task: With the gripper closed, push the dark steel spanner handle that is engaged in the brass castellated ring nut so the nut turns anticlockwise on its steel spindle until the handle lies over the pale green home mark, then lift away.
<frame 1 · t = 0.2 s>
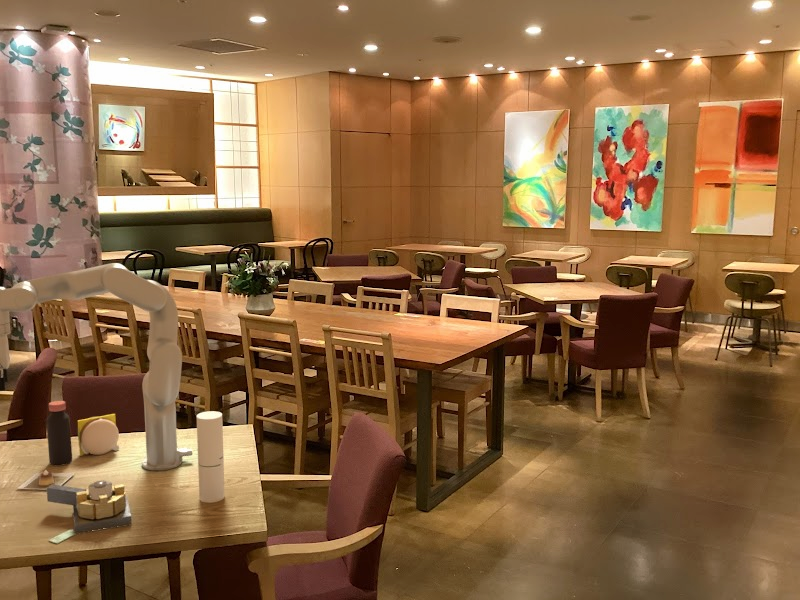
hand: (0, 386, 219), 31 cm above the table, tool pointing down, fingers open, 9 cm apart
cylindrical container: (212, 498, 218), on the table
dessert: (46, 484, 227), on the table
ring nut: (84, 496, 205), point 6 cm above the table, hinge at -40.0°
hamburger: (100, 453, 252), on the table
bottle: (61, 462, 243), on the table
housing: (102, 518, 204), on the table
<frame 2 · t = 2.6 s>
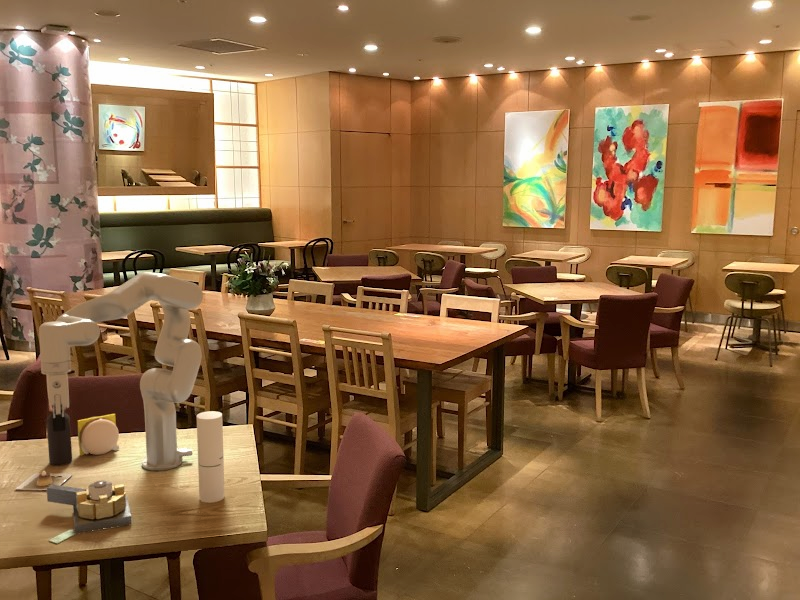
hand: (59, 430, 210), 22 cm above the table, tool pointing down, fingers closed
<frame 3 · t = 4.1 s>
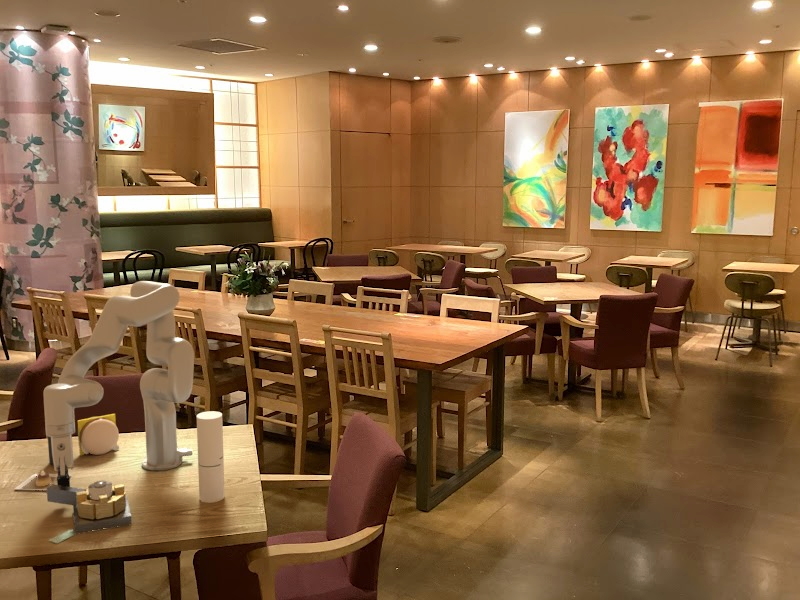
hand: (63, 489, 213), 4 cm above the table, tool pointing down, fingers closed
nothing on the table moved.
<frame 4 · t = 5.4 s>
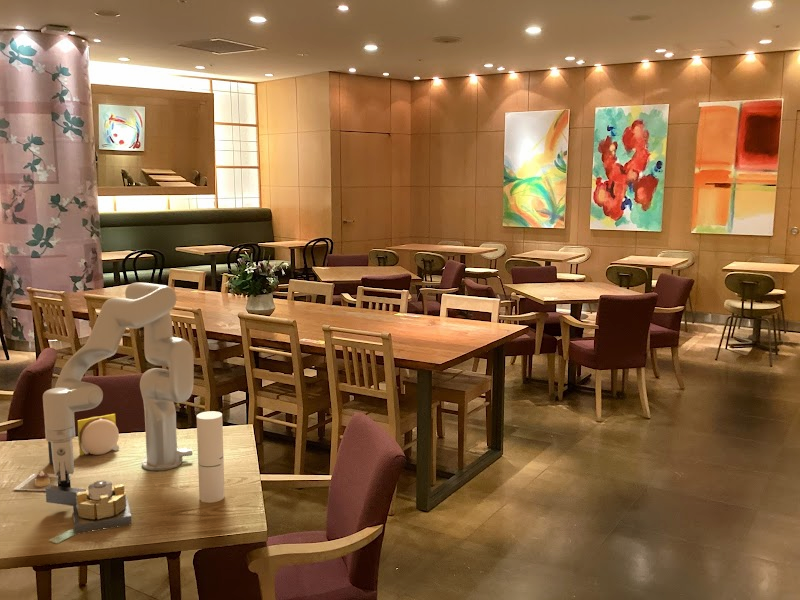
hand: (64, 494, 211), 4 cm above the table, tool pointing down, fingers closed
ring nut: (84, 496, 205), point 6 cm above the table, hinge at -38.2°, touching gripper
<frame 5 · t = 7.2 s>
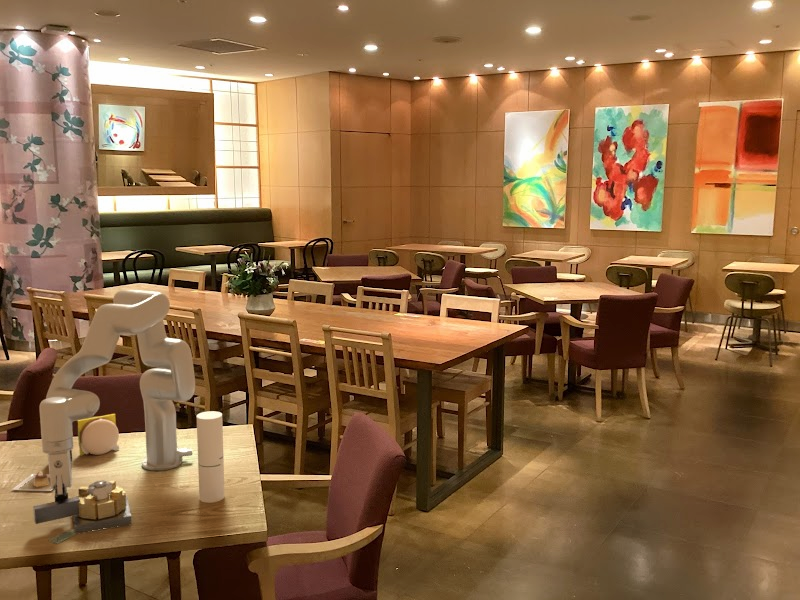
hand: (62, 508, 202), 4 cm above the table, tool pointing down, fingers closed
ring nut: (80, 503, 201), point 6 cm above the table, hinge at 9.6°, touching gripper
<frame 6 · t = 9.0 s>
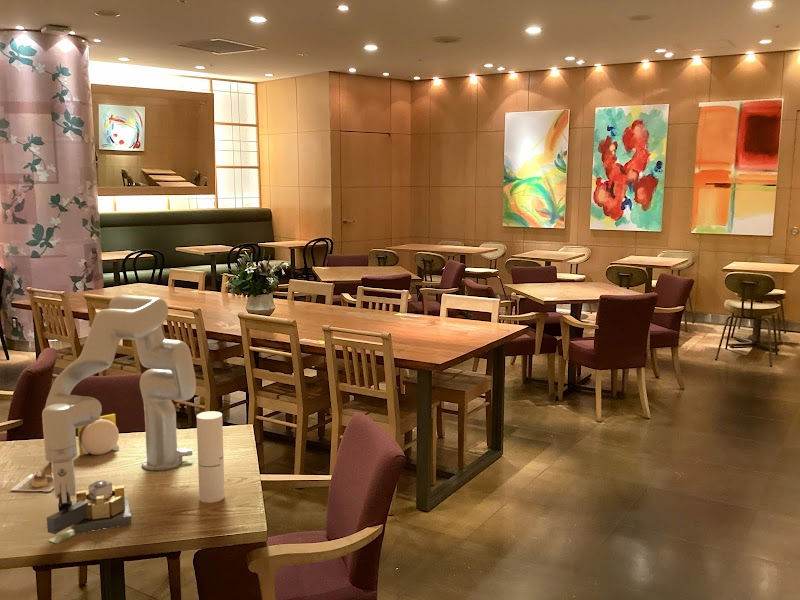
hand: (66, 517, 198), 3 cm above the table, tool pointing down, fingers closed
ring nut: (85, 506, 199), point 6 cm above the table, hinge at 41.4°, touching gripper
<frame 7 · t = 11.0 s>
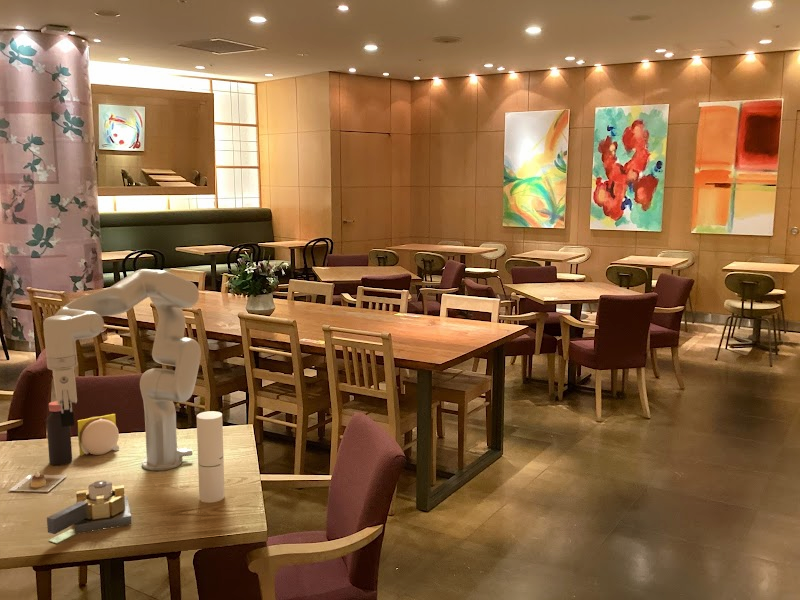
hand: (68, 425, 206), 24 cm above the table, tool pointing down, fingers closed
ring nut: (85, 506, 199), point 6 cm above the table, hinge at 41.4°
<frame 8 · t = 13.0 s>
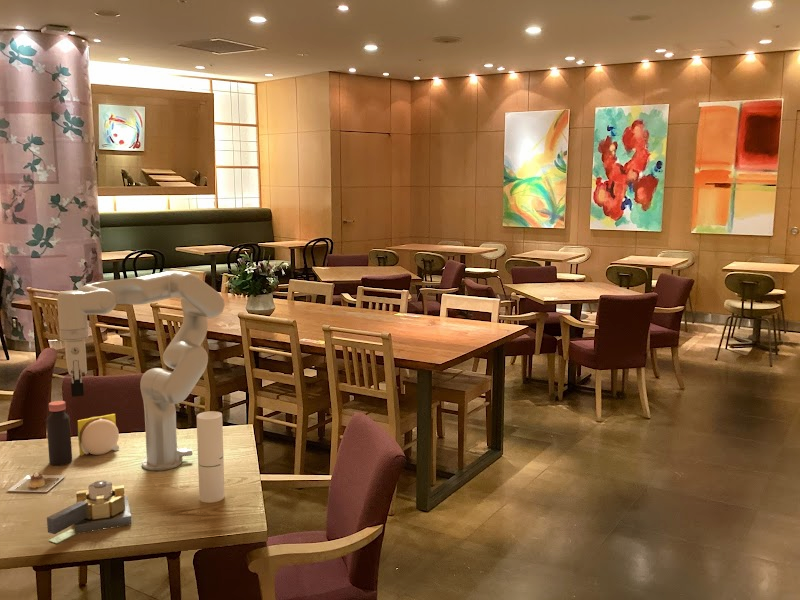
hand: (77, 395, 218), 29 cm above the table, tool pointing down, fingers closed
at the end: ring nut at +41° (first picture: -40°) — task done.
